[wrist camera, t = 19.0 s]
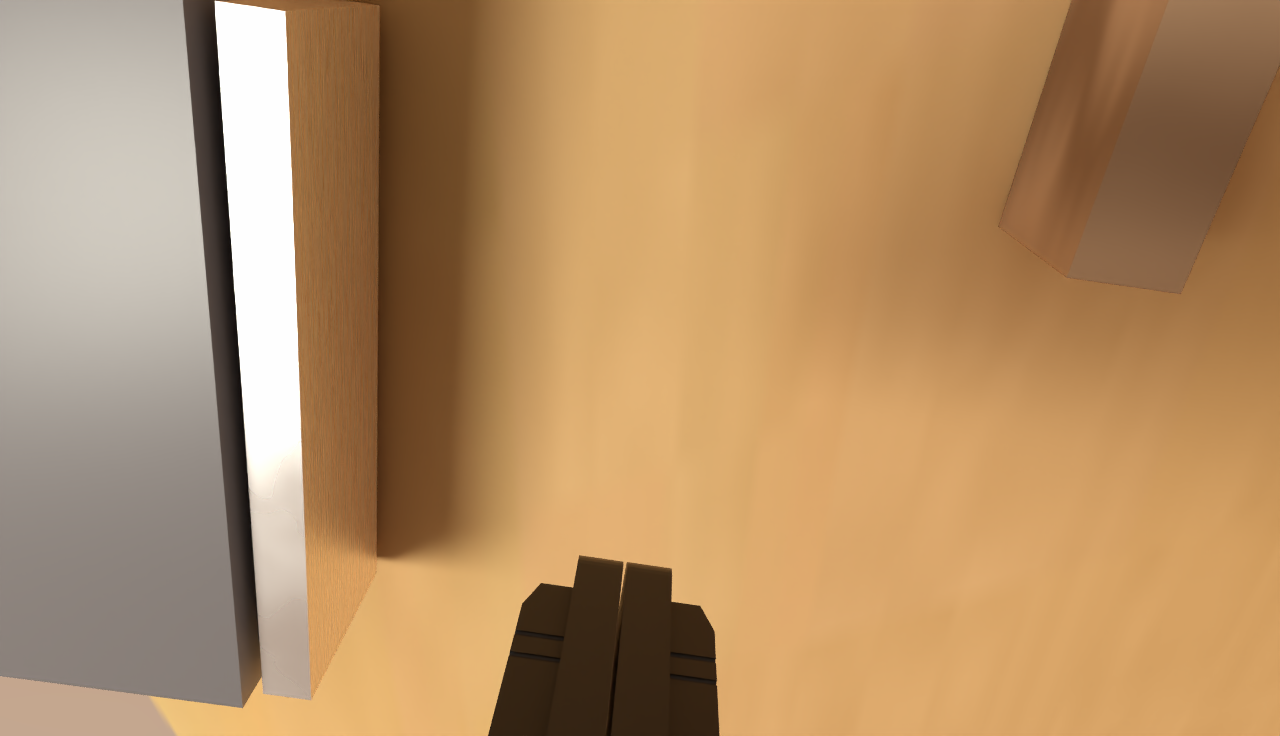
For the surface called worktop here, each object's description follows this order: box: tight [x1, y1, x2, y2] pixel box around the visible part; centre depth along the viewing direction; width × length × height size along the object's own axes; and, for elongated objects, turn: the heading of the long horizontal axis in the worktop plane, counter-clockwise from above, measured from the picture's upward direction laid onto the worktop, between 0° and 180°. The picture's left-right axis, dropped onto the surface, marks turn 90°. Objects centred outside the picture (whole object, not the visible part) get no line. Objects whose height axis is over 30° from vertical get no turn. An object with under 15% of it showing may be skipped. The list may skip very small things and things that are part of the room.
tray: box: [215, 0, 380, 700], centre depth 20 cm, size 16×16×5 cm
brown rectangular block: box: [999, 0, 1280, 294], centre depth 18 cm, size 6×2×4 cm, turn 172°
